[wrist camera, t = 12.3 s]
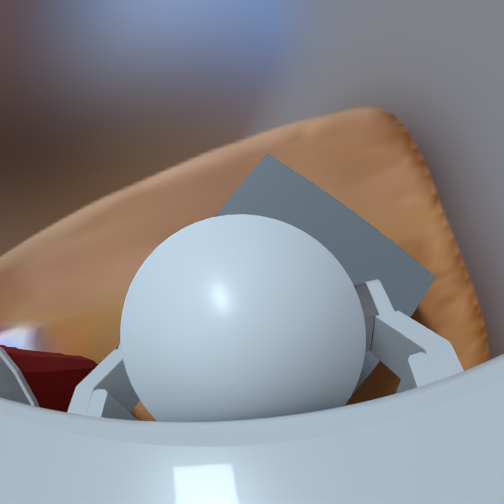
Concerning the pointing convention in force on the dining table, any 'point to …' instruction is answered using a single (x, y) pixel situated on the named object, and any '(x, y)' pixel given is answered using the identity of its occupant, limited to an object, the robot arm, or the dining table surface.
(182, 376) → the white rounded domed part
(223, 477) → the robot arm
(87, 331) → the dining table surface
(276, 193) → the shelf
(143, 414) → the dining table surface
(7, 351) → the plastic cup
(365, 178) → the dining table surface
